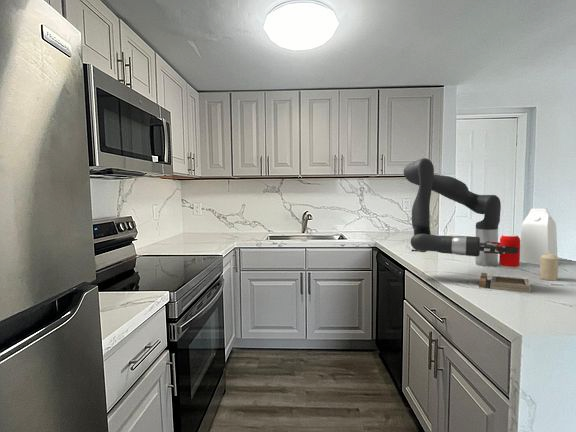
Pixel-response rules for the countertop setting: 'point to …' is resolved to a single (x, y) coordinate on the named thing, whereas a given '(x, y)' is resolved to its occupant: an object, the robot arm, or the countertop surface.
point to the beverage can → (510, 258)
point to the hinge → (410, 247)
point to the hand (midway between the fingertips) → (517, 249)
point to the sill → (483, 280)
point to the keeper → (510, 284)
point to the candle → (549, 267)
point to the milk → (537, 236)
